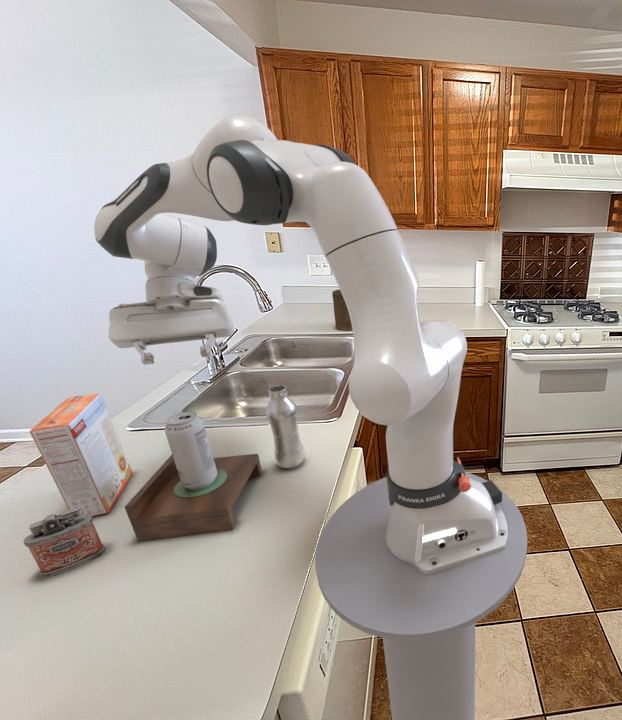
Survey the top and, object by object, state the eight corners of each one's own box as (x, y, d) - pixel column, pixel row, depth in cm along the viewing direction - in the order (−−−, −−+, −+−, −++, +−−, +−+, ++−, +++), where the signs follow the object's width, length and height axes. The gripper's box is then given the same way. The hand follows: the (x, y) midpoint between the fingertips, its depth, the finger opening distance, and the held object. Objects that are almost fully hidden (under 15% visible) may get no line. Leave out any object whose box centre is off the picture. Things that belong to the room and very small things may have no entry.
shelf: (262, 471, 92) (255, 442, 89) (233, 529, 76) (223, 495, 73) (185, 479, 89) (176, 449, 86) (137, 541, 73) (124, 507, 70)
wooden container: (369, 328, 200) (365, 284, 192) (339, 332, 193) (333, 287, 185) (362, 321, 212) (357, 280, 204) (333, 324, 205) (327, 282, 197)
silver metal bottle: (296, 452, 99) (282, 379, 92) (312, 462, 96) (299, 387, 88) (271, 465, 94) (254, 389, 87) (286, 475, 91) (270, 397, 83)
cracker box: (100, 479, 89) (66, 396, 81) (134, 473, 91) (103, 391, 83) (70, 523, 77) (26, 429, 69) (109, 514, 79) (71, 423, 71)
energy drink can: (188, 475, 82) (169, 412, 77) (221, 470, 84) (204, 407, 79) (178, 494, 77) (156, 427, 72) (214, 488, 79) (195, 422, 73)
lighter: (40, 581, 65) (14, 534, 61) (42, 568, 67) (18, 522, 64) (106, 555, 70) (85, 510, 66) (106, 543, 72) (86, 499, 69)
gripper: (101, 296, 76) (101, 360, 71) (226, 288, 84) (233, 344, 80) (116, 313, 81) (117, 374, 76) (232, 304, 90) (239, 358, 85)
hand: (177, 359), depth 78 cm, fingers open, 8 cm apart
